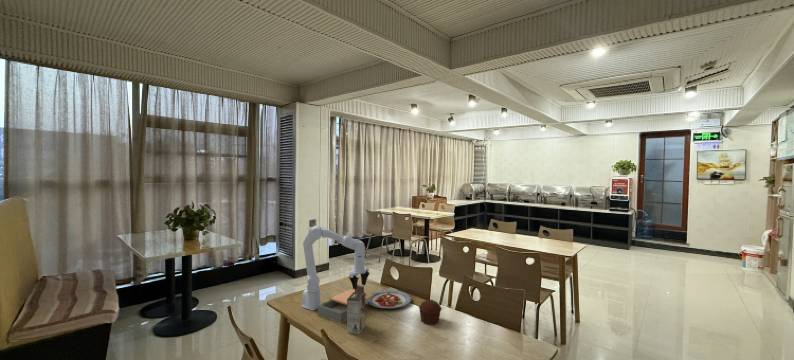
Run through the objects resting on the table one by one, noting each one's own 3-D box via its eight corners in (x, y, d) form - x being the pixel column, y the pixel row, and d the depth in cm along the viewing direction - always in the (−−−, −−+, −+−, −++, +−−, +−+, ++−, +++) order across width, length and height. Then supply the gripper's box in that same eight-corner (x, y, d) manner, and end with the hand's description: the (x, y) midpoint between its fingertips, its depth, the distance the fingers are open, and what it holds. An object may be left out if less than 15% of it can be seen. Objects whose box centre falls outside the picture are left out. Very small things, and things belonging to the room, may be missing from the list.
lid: (329, 299, 180) (329, 291, 179) (350, 290, 193) (350, 282, 193) (353, 307, 170) (353, 297, 170) (373, 296, 184) (373, 288, 184)
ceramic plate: (356, 301, 191) (356, 296, 191) (390, 290, 209) (390, 285, 209) (385, 316, 172) (386, 310, 172) (420, 302, 190) (420, 297, 190)
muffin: (417, 316, 172) (417, 297, 172) (438, 315, 173) (438, 296, 173) (421, 327, 160) (421, 306, 160) (443, 326, 161) (444, 305, 161)
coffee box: (353, 323, 163) (353, 291, 162) (365, 325, 162) (366, 292, 161) (346, 333, 154) (346, 298, 154) (360, 334, 153) (360, 300, 152)
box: (318, 315, 172) (318, 305, 172) (339, 304, 186) (339, 295, 185) (341, 323, 164) (341, 313, 163) (361, 311, 177) (361, 302, 177)
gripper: (356, 267, 178) (356, 292, 179) (373, 261, 190) (372, 284, 191) (346, 265, 182) (346, 289, 183) (363, 259, 194) (363, 282, 195)
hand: (359, 286), depth 187 cm, fingers open, 7 cm apart
